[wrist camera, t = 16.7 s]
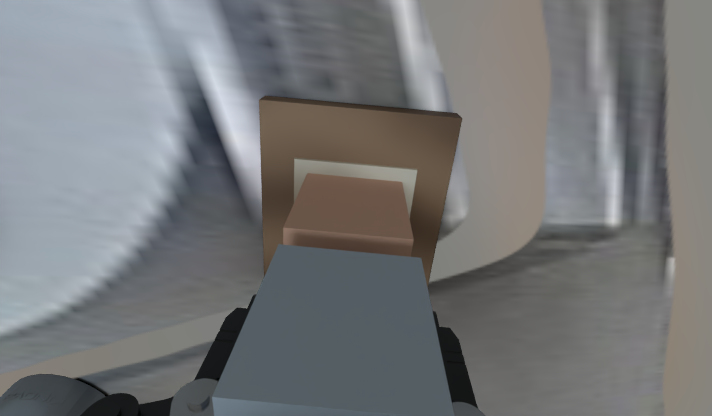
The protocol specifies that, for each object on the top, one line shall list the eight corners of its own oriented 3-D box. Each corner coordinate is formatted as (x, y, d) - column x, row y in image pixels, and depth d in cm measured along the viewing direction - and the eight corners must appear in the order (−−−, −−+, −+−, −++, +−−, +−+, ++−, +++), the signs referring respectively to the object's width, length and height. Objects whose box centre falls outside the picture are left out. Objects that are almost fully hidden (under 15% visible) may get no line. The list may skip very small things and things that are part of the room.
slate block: (401, 360, 15) (416, 543, 10) (279, 349, 15) (227, 525, 10) (421, 257, 13) (455, 420, 8) (278, 244, 13) (212, 396, 8)
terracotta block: (390, 261, 22) (396, 337, 16) (304, 253, 22) (283, 327, 16) (402, 181, 20) (413, 239, 14) (307, 173, 20) (283, 227, 14)
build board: (420, 296, 25) (423, 311, 23) (269, 283, 25) (263, 296, 23) (457, 113, 19) (463, 119, 18) (265, 95, 19) (257, 100, 18)
